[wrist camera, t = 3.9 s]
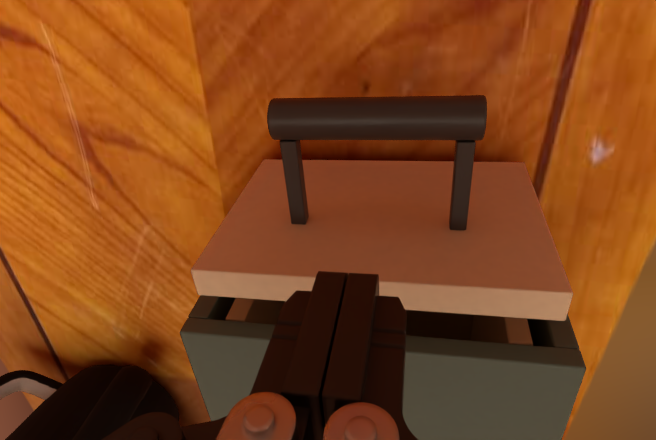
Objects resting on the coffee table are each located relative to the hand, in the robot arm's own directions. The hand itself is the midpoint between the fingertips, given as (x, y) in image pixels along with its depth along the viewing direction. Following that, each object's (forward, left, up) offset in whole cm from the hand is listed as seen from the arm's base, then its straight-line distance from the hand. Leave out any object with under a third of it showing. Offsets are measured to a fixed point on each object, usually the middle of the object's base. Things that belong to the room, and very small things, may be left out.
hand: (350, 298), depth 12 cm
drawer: (0, +7, -12) cm, 13 cm away
